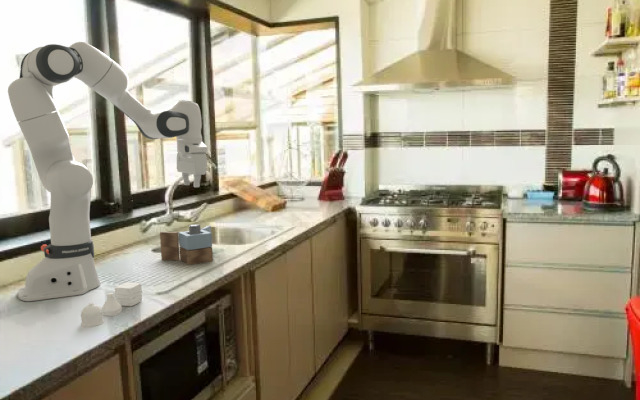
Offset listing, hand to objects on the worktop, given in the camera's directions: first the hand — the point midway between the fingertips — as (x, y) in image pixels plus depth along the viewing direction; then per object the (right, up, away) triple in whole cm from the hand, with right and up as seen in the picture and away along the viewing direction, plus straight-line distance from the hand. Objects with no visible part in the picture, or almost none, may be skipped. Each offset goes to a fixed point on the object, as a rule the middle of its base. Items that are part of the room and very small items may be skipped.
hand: (191, 186), depth 186 cm
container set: (-9, -35, -49) cm, 61 cm away
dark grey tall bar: (+1, -27, +4) cm, 27 cm away
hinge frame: (-3, -27, +5) cm, 28 cm away
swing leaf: (+1, -26, +8) cm, 27 cm away
